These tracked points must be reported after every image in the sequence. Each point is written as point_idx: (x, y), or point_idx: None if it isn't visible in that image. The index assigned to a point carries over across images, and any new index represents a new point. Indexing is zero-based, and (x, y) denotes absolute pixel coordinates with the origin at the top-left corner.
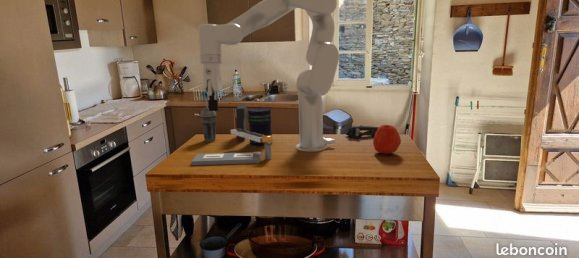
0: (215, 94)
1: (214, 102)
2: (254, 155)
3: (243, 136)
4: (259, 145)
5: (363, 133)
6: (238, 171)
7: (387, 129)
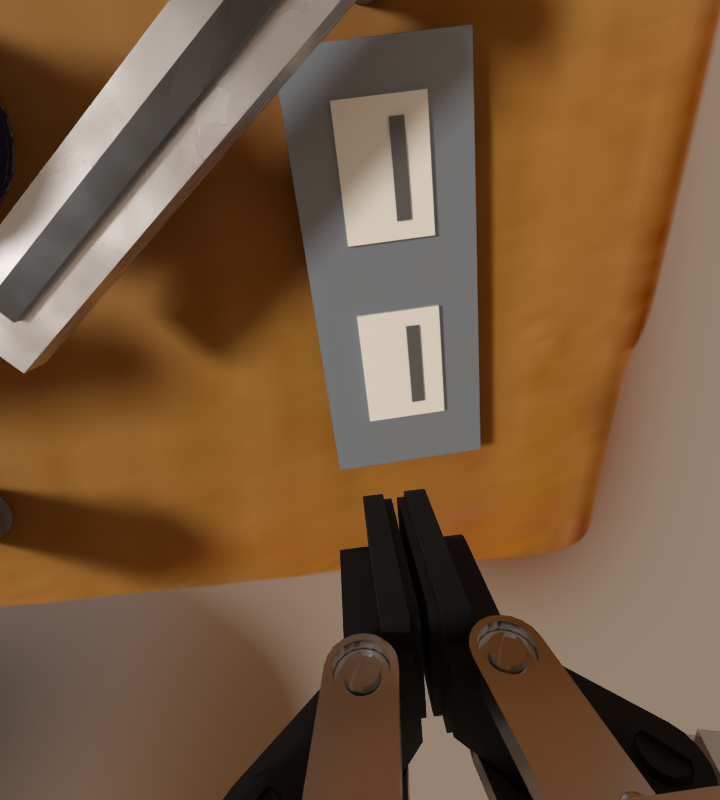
0: (602, 745)
1: (492, 601)
2: (378, 84)
3: (176, 206)
4: (2, 121)
5: None
6: (615, 153)
7: None
